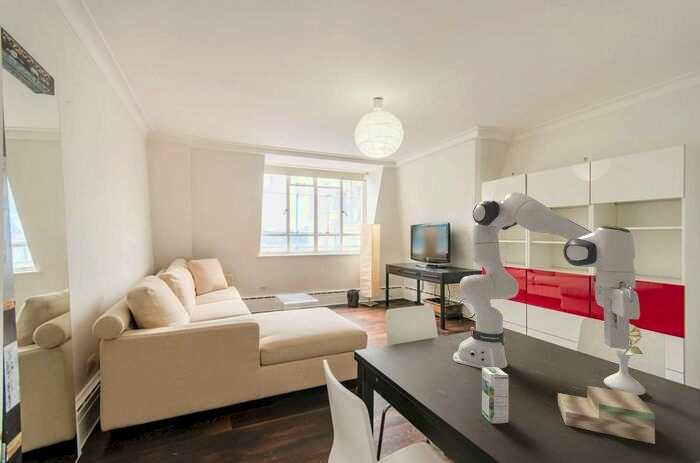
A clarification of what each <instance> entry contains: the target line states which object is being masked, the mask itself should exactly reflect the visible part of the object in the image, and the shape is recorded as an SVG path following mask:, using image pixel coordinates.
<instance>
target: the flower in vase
mask: <svg viewBox="0 0 700 463" xmlns="http://www.w3.org/2000/svg"><path fill="white" fill-rule="evenodd" d="M641 338H643V335H642V332H641V329H639V327H637V326H635V325H634V324H631V323H629V345H630V351H631V352H630V351H629V349H625V350H624V349H615V350H614V353H615V354H616V356H617V358H618V363H619V368H618V369H619V370H618V371H617V372H616V373H614V374H611V375H608V376H607V377H605V378H604V380H603V383H604V384H605V386H606V387H607V388H608V389H611V390H617V391H623V392H629V393H635V394H636V395H637V396H642V395H645V393H646V388H645V387H644V386H643V385H642V384H641V383H640V382H638V381H637V379H635V378H633V377H632V376H631V375H630V373H629V368H628V366H629V360H630V358H631V357H632V356H633V355H634V354H635V355H644V353H643V352H642V350H641V349H640V348H639V347H638V346H632V345H636V344H637V343H638V342H640V340H641Z"/></svg>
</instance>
